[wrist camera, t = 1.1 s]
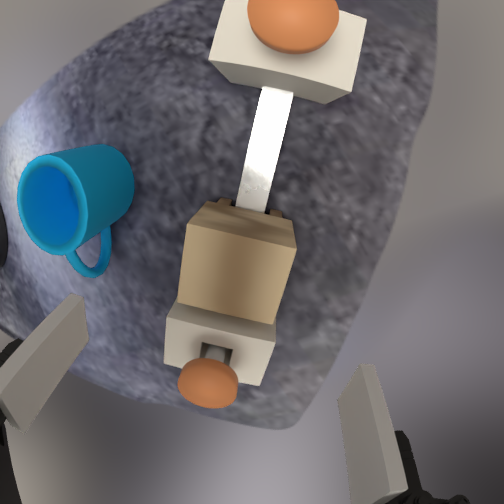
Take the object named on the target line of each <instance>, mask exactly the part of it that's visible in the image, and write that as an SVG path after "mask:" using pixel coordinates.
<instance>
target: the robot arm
mask: <svg viewBox="0 0 504 504" xmlns="http://www.w3.org/2000/svg"><path fill="white" fill-rule="evenodd" d="M6 255H7V232H6V226H5V221H4V217H3V213H2V210H1V207H0V268H1V267H2V266H3V264H4V262H5V259H6ZM88 341H89V336H88V329H87V322H86V314H85V305H84V297H81V296H78V295H76V294H73V293H71V294H69V295H68V296H67V297H66V298H65V299H64V300H63V301H62V302H61V303H60V304H59V305H58V306H57V307H56V308H55V309H54V310H53V311H52V312H51V313H50V314H49V315H48V316H47V317H46V318H45V319H44V320H43V321H42V323H41V324H40V325H39V326H38V327H37V328H36V329H35V330H34V331H33V332H32V333H31V334H30V335H29V336H28V337H27V338H26V339H25V341H22V340H20V339H19V338H18V339H16V340H14V341H13V342H11V343H9V344H8V345H7V346H6V347H5V349H4V350H3V351H2V353H0V504H22V502H21V499H20V495H19V492H18V488H17V484H16V480H15V476H14V473H13V468H12V463H11V458H10V453H9V447H8V441H7V435H6V428H5V425H4V422H5V420H6V419H7V420H8V422H9V423H10V425H11V426H12V427H14V428H15V429H17V430H18V431H20V432H21V433H23V434H25V433H26V432H27V430H28V428H29V427H30V425H31V424H32V422H33V421H34V419H35V417H36V416H37V414H38V413H39V411H40V410H41V408H42V407H43V405H44V403H45V402H46V401H47V399H48V397H49V396H50V395H51V393H52V392H53V390H54V389H55V387H56V386H57V384H58V383H59V381H60V380H61V378H62V377H63V376H64V374H65V373H66V371H67V370H68V369H69V367H70V366H71V364H72V363H73V362H74V360H75V359H76V358H77V356H78V355H79V353H80V352H81V351H82V349H83V348H84V347H85V345H86V344H87V343H88ZM337 401H338V407H339V414H340V419H341V427H342V434H343V441H344V448H345V456H346V464H347V472H348V480H349V490H350V499H351V504H470V502H469V500H468V499H467V498H466V497H465V496H463V495H456V496H454V497H452V498H451V499H449V500H444V499H437V498H433V497H432V495H431V494H430V493H428V492H427V491H424V490H422V487H421V483H420V480H419V475H418V472H417V468H416V464H415V460H414V459H413V458H414V457H413V453H412V452H411V446H410V443H409V439H408V438H407V437H406V435H405V434H404V433H403V431H394V429H393V426H392V422H391V419H390V415H389V411H388V408H387V405H386V401H385V398H384V395H383V392H382V388H381V385H380V382H379V379H378V376H377V373H376V369H375V366H374V365H367V364H360V365H359V366H358V368H357V370H356V371H355V373H354V375H353V376H352V378H351V380H350V381H349V383H348V384H347V386H346V387H345V389H344V391H343V392H342V394H341V395H340V397H339V398H338V400H337Z"/></svg>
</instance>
